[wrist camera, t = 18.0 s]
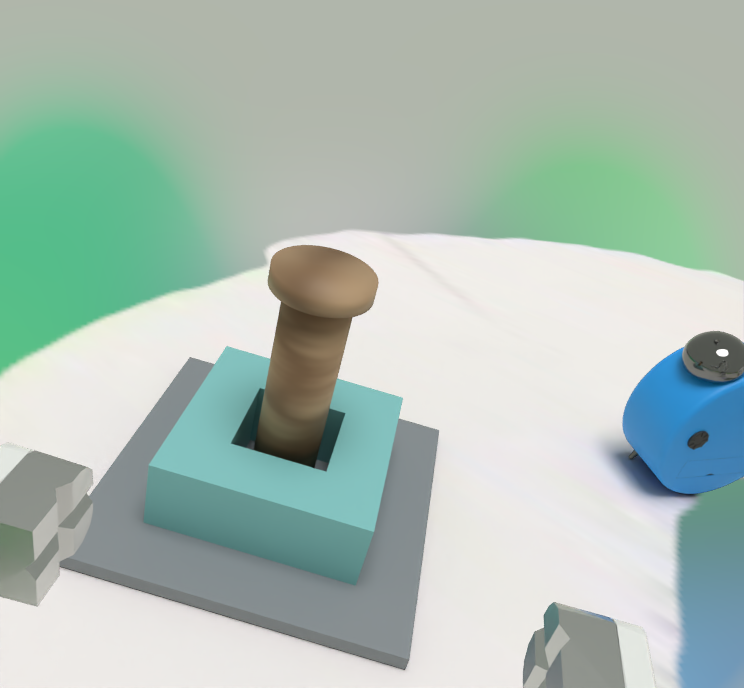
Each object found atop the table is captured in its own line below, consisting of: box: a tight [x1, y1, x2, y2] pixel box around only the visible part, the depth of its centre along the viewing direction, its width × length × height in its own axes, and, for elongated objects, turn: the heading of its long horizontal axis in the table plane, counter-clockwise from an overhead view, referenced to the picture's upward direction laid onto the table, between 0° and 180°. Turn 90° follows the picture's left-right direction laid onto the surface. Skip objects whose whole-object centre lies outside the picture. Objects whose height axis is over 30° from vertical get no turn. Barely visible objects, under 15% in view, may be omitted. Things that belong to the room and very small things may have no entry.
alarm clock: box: [623, 331, 744, 494], centre depth 61 cm, size 13×6×15 cm, turn 106°
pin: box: [254, 245, 378, 468], centre depth 46 cm, size 6×6×17 cm
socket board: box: [59, 346, 439, 670], centre depth 50 cm, size 22×22×6 cm
